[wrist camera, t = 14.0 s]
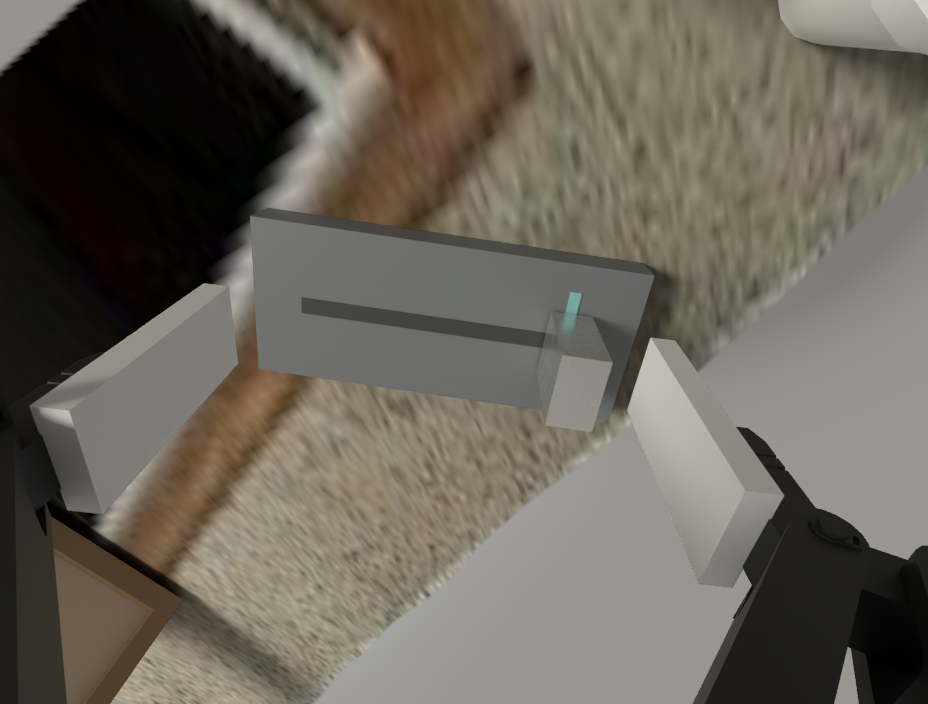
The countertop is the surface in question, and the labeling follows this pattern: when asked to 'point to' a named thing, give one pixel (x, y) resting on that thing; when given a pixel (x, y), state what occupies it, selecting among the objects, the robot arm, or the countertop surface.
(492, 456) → the countertop surface
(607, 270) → the fader console
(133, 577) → the photo frame
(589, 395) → the fader knob
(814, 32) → the foam cup
